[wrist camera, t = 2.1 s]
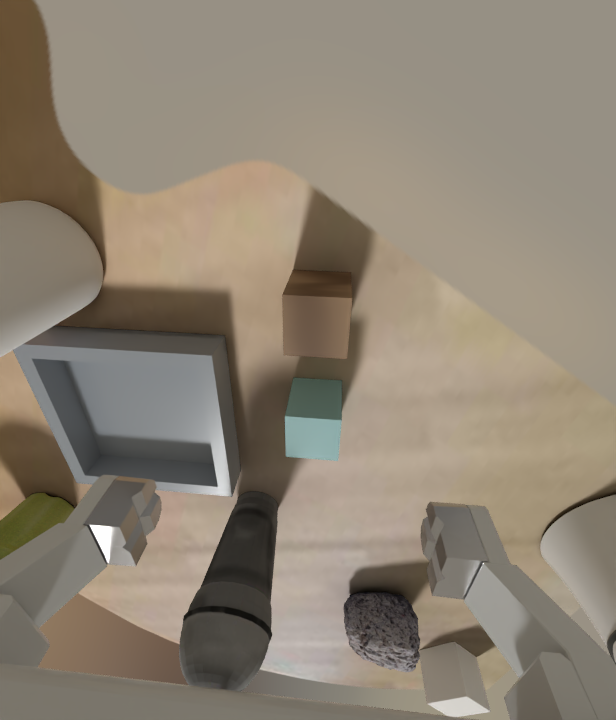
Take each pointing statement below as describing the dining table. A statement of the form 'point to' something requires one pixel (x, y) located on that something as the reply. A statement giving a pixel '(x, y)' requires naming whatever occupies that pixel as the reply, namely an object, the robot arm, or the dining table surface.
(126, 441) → the tray
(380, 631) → the pumice stone
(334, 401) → the teal block
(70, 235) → the milk bottle
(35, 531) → the plant pot
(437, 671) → the white cube
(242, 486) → the dining table surface
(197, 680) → the beverage cup
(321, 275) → the walnut block
